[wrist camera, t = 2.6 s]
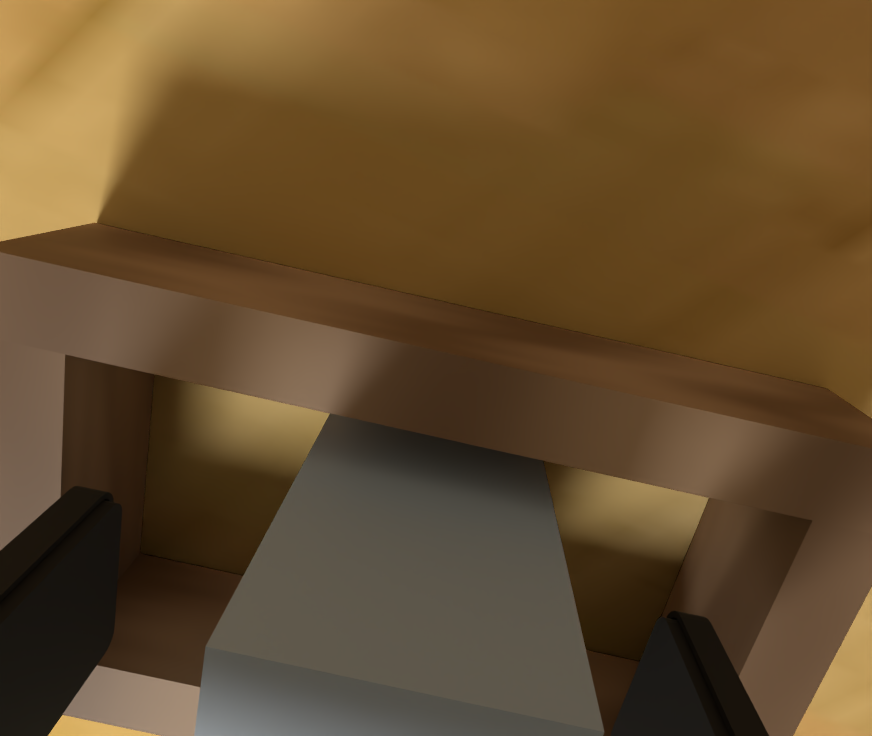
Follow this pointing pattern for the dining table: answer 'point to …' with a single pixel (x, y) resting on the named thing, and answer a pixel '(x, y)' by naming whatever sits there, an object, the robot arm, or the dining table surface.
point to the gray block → (403, 601)
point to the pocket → (427, 414)
